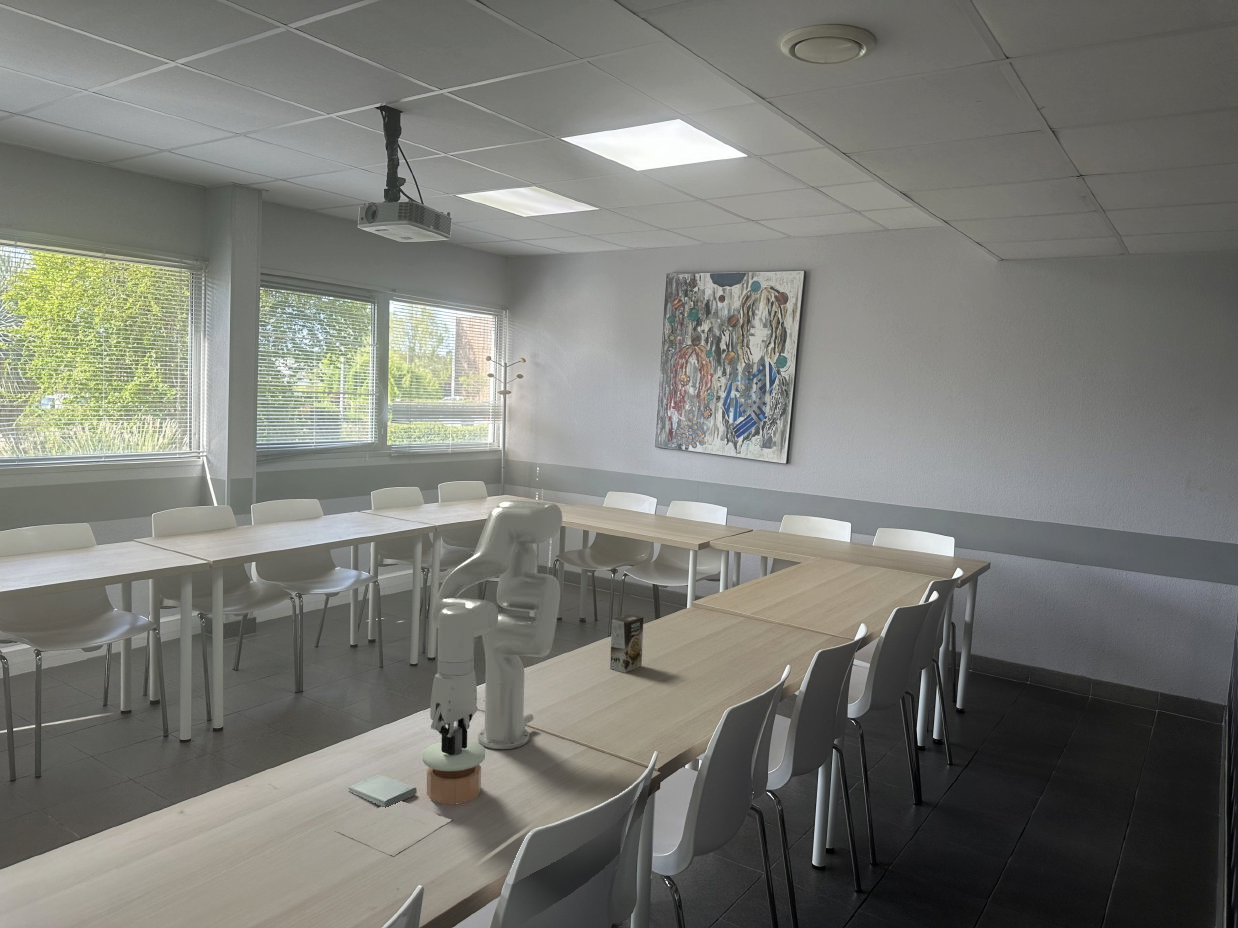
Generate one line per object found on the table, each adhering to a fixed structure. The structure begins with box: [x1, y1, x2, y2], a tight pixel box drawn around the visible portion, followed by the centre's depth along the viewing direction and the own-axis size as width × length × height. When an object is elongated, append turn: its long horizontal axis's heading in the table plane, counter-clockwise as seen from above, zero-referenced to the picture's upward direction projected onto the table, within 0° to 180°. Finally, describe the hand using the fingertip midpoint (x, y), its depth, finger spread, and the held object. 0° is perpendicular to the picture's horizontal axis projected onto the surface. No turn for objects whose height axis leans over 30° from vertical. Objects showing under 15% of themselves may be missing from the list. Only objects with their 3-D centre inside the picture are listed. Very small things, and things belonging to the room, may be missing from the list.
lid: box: [422, 725, 486, 771], centre depth 177 cm, size 13×13×6 cm
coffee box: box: [609, 613, 644, 673], centre depth 263 cm, size 9×6×16 cm
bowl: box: [426, 764, 482, 805], centre depth 178 cm, size 11×11×6 cm
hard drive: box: [347, 774, 418, 808], centre depth 176 cm, size 2×8×12 cm
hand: (454, 749), depth 177 cm, fingers closed on lid, 3 cm apart
